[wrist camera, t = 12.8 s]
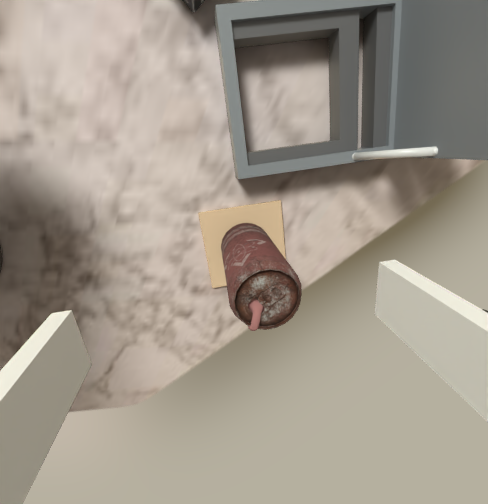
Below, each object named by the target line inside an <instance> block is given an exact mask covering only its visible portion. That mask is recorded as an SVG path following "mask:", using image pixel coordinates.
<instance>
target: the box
mask: <svg viewBox="0 0 488 504" xmlns="http://www.w3.org/2000/svg"><path fill="white" fill-rule="evenodd" d="M183 1H184V2H185V3H186V5H187V6H188V7H189V8H190V9H191V11H192V12H193V13H194V12H195V11H196V10H197V9H198V8H199V7H200V6H201V4H202V3H203V2H204V1H205V0H183Z"/></svg>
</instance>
